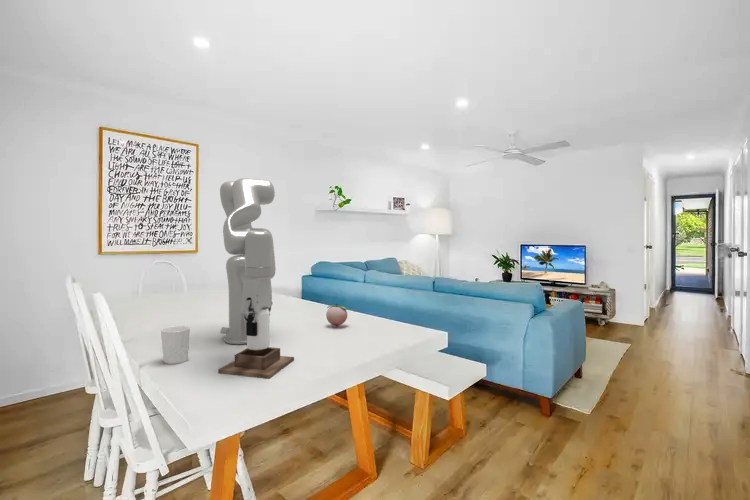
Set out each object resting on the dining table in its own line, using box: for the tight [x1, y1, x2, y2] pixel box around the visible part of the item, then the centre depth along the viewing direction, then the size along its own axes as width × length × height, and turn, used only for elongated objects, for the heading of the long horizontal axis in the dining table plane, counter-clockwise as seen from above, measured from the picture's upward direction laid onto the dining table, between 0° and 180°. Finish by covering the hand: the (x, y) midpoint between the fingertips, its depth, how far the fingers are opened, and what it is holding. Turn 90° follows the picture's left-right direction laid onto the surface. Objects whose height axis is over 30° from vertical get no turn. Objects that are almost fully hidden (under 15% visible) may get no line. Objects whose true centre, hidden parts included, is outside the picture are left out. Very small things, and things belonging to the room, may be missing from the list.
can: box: [246, 307, 271, 350], centre depth 116 cm, size 6×6×12 cm
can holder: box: [217, 346, 295, 379], centre depth 117 cm, size 16×16×4 cm
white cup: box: [160, 325, 191, 365], centre depth 121 cm, size 8×8×10 cm
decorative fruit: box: [326, 303, 348, 328], centre depth 167 cm, size 9×8×10 cm
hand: (258, 332), depth 117 cm, fingers closed on can, 6 cm apart
